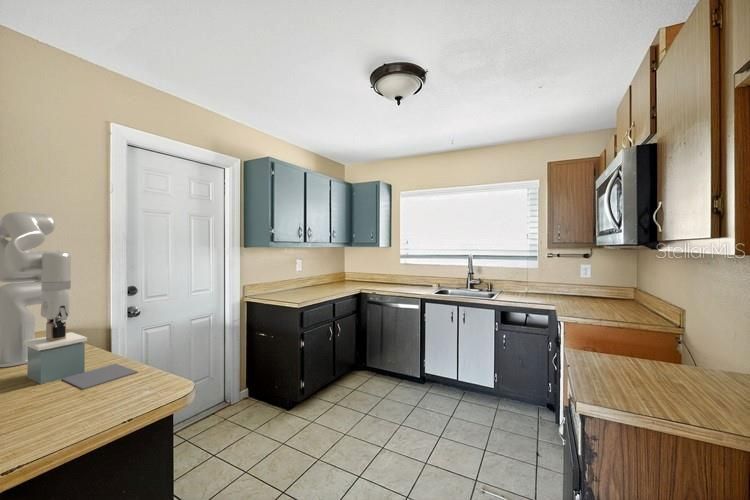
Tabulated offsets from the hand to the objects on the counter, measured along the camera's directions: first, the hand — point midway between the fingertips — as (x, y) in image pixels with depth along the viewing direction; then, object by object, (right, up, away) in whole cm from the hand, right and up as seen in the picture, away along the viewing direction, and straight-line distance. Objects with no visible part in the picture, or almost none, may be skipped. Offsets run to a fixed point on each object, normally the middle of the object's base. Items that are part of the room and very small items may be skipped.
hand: (56, 335), depth 115 cm
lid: (0, -2, 0) cm, 2 cm away
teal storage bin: (0, -14, 0) cm, 14 cm away
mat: (+17, -14, -1) cm, 22 cm away
